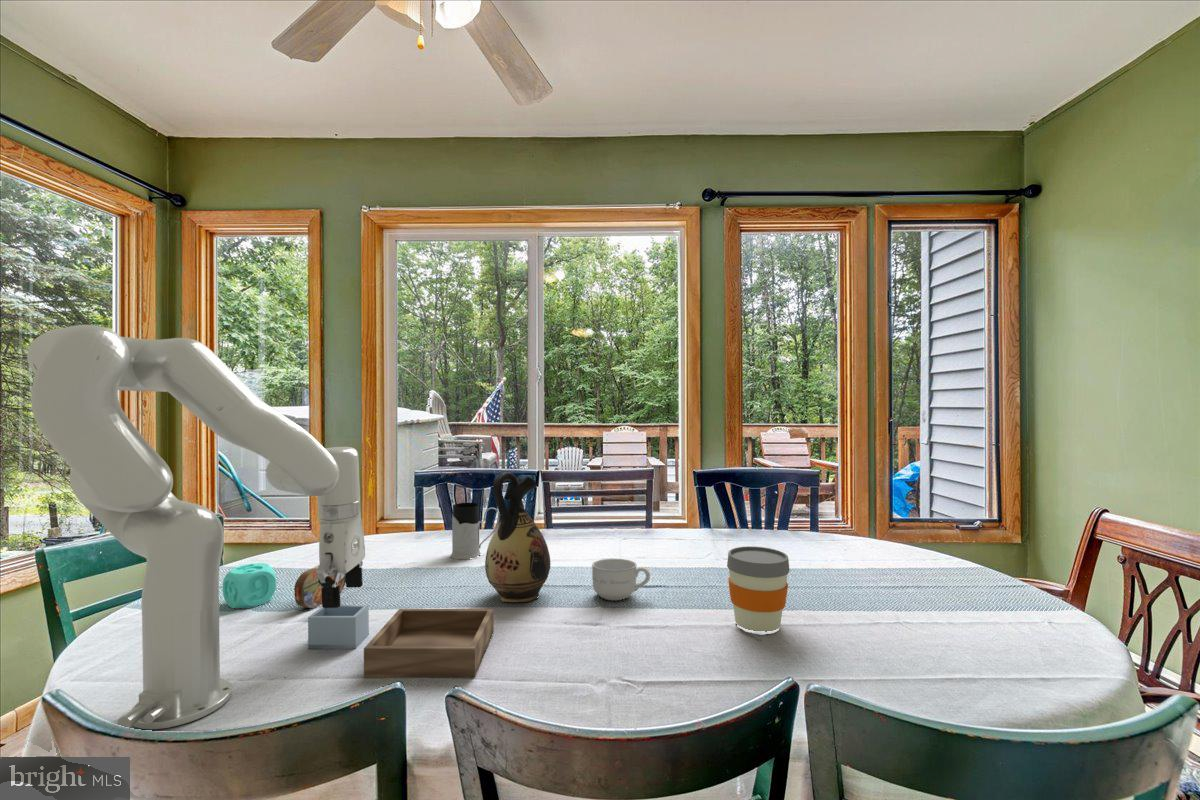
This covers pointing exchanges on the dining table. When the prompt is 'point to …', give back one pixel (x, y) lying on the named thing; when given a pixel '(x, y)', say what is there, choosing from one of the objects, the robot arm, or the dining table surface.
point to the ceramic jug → (516, 545)
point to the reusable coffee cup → (758, 586)
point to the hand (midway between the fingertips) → (343, 596)
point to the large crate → (430, 643)
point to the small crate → (338, 627)
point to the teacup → (616, 578)
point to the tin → (312, 588)
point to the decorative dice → (249, 585)
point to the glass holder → (467, 530)
